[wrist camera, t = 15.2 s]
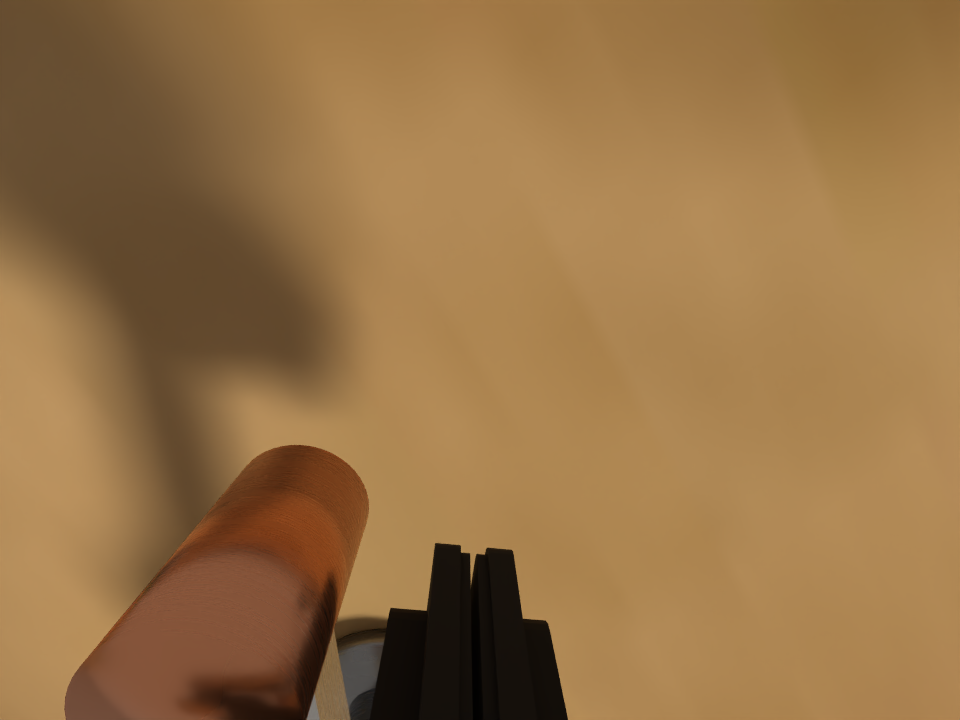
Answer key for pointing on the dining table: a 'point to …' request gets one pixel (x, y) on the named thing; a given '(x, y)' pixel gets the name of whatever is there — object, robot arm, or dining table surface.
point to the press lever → (240, 606)
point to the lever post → (360, 669)
